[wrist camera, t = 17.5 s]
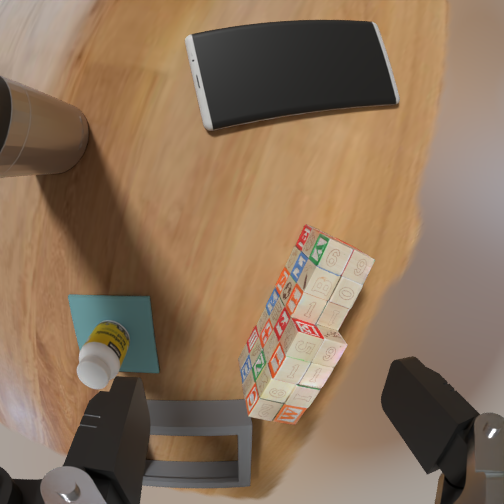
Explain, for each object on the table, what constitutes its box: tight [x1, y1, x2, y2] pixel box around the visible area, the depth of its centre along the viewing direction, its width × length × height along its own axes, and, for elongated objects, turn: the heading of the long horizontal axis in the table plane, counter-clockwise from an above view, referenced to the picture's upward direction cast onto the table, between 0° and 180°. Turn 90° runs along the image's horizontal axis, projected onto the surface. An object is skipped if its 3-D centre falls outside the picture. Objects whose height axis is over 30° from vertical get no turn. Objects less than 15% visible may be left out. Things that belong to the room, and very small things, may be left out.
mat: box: [68, 294, 160, 373], centre depth 39 cm, size 12×12×1 cm
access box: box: [142, 399, 252, 488], centre depth 43 cm, size 22×18×6 cm
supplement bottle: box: [77, 320, 130, 389], centre depth 34 cm, size 5×5×10 cm
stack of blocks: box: [238, 224, 375, 425], centre depth 36 cm, size 21×6×12 cm, turn 156°
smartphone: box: [185, 20, 400, 131], centre depth 33 cm, size 13×27×2 cm, turn 103°
